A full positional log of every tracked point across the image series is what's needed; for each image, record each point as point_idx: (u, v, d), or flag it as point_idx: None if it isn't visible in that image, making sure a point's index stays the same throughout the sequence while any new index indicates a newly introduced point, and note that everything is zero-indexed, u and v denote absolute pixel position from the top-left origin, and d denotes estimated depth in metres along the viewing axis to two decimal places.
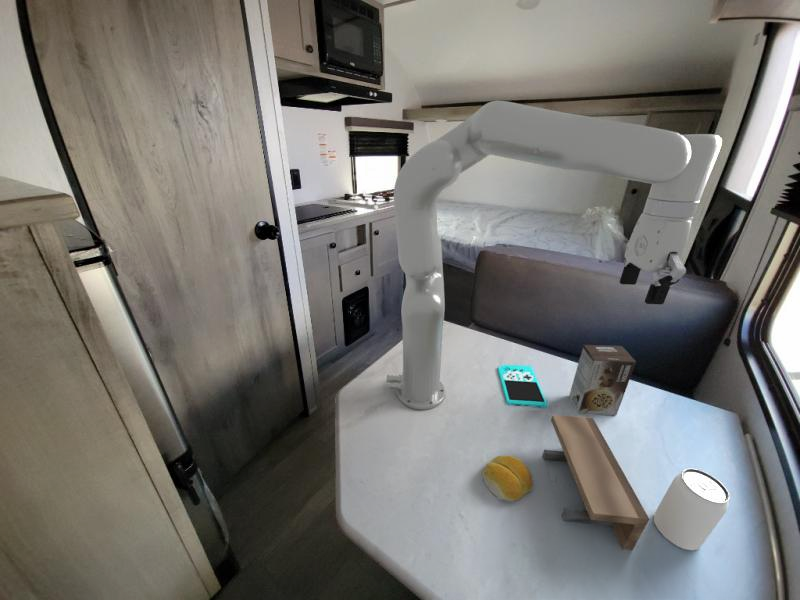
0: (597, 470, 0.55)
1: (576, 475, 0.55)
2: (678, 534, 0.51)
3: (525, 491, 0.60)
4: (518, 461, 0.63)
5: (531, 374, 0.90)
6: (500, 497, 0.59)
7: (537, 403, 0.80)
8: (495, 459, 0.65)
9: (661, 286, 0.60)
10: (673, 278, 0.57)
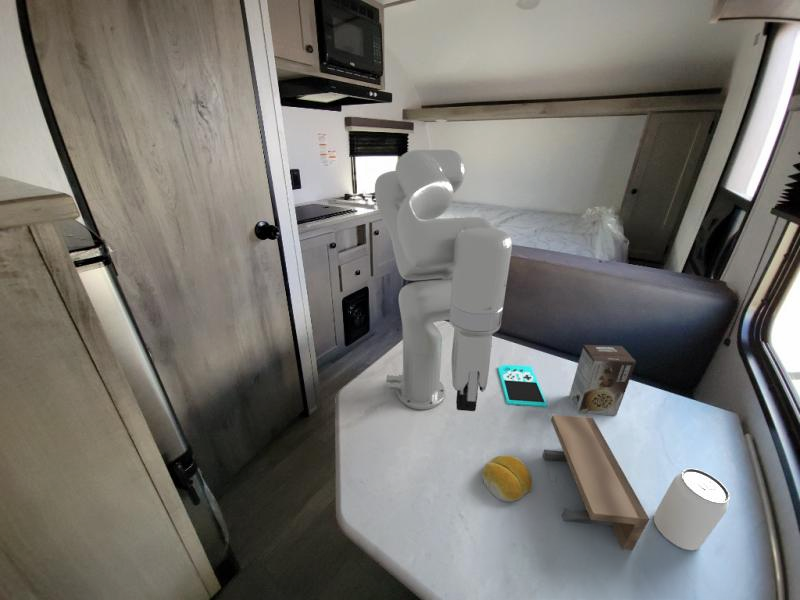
0: (597, 470, 0.55)
1: (576, 475, 0.55)
2: (678, 534, 0.51)
3: (524, 491, 0.60)
4: (517, 461, 0.63)
5: (531, 374, 0.90)
6: (500, 497, 0.59)
7: (537, 404, 0.80)
8: (494, 459, 0.65)
9: (465, 395, 0.52)
10: None
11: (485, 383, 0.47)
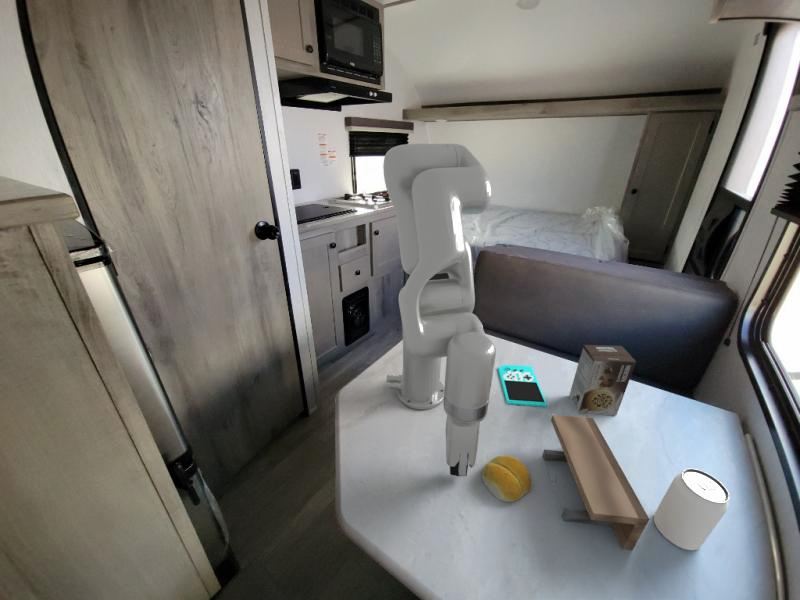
0: (597, 470, 0.55)
1: (576, 475, 0.55)
2: (678, 534, 0.51)
3: (524, 491, 0.60)
4: (517, 461, 0.63)
5: (531, 374, 0.90)
6: (499, 497, 0.59)
7: (537, 403, 0.80)
8: (494, 459, 0.65)
9: None
10: (459, 468, 0.57)
11: (474, 462, 0.54)
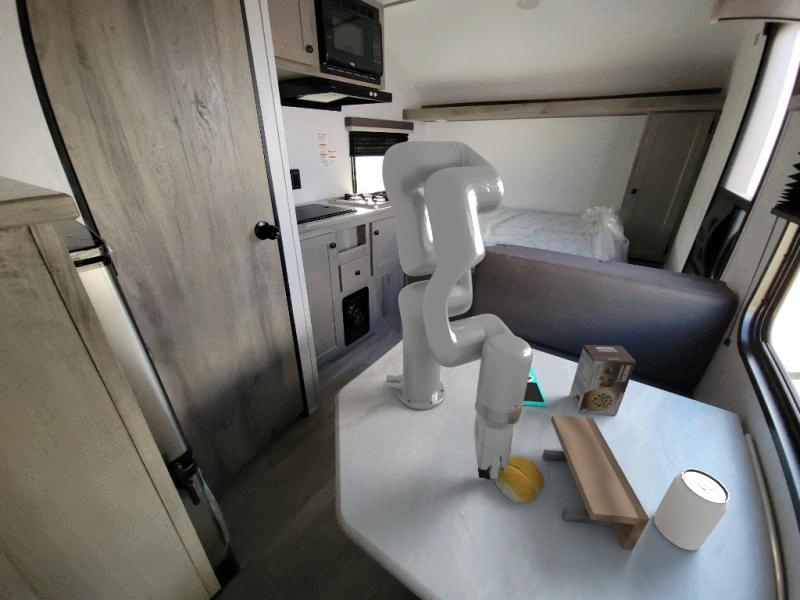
0: (597, 470, 0.55)
1: (576, 475, 0.55)
2: (678, 534, 0.51)
3: (537, 491, 0.60)
4: (528, 461, 0.63)
5: (531, 374, 0.90)
6: (513, 499, 0.58)
7: (537, 403, 0.80)
8: None
9: None
10: (489, 471, 0.57)
11: (506, 465, 0.54)
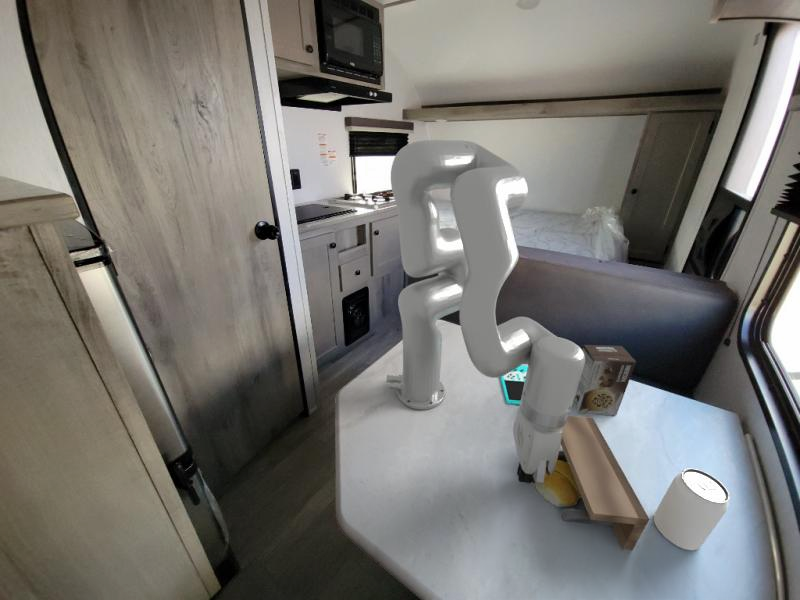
0: (597, 470, 0.55)
1: (576, 475, 0.55)
2: (678, 534, 0.51)
3: (580, 495, 0.59)
4: (568, 465, 0.62)
5: None
6: (557, 504, 0.57)
7: None
8: None
9: None
10: None
11: (553, 469, 0.53)
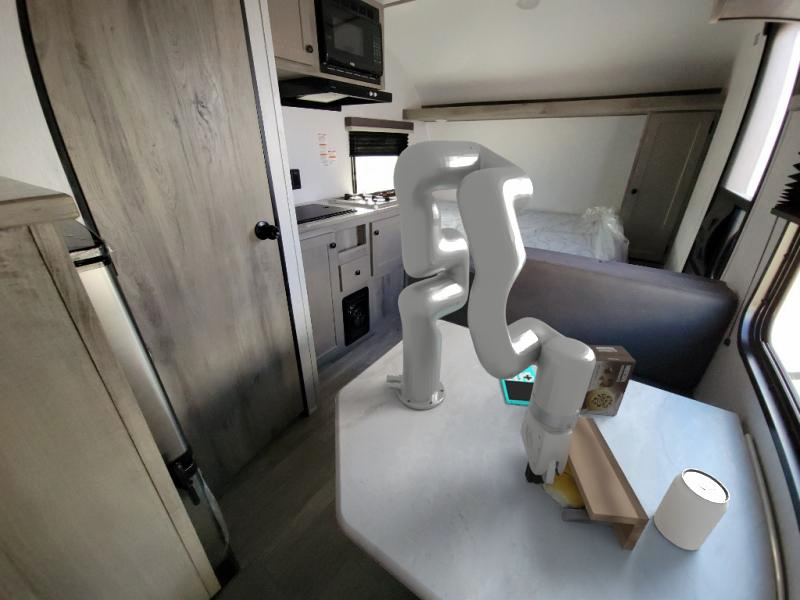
0: (597, 470, 0.55)
1: (576, 475, 0.55)
2: (678, 534, 0.51)
3: None
4: None
5: (531, 374, 0.90)
6: (566, 505, 0.57)
7: None
8: None
9: None
10: None
11: (563, 470, 0.53)
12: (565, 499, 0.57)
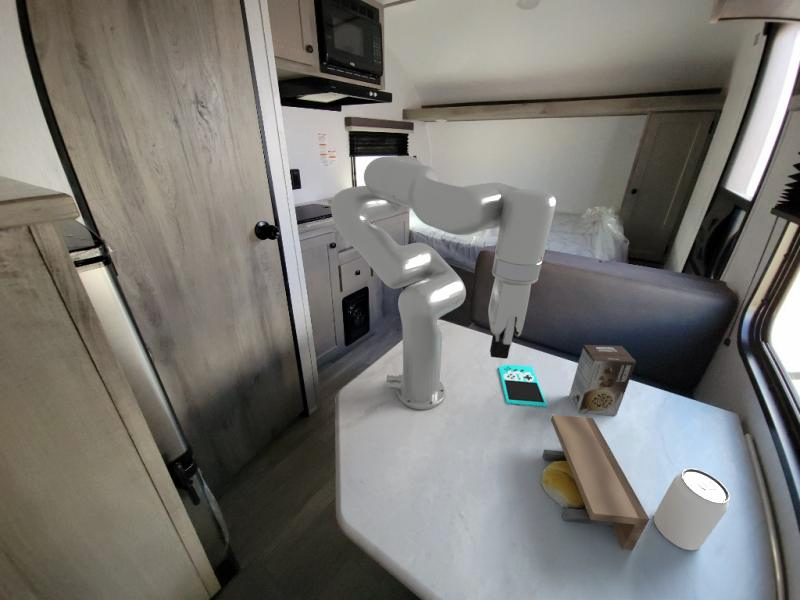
0: (597, 470, 0.55)
1: (576, 475, 0.55)
2: (678, 534, 0.51)
3: None
4: None
5: (532, 374, 0.90)
6: (566, 505, 0.57)
7: (537, 404, 0.80)
8: (551, 466, 0.63)
9: (500, 342, 0.59)
10: (503, 341, 0.57)
11: (521, 328, 0.53)
12: (565, 499, 0.57)
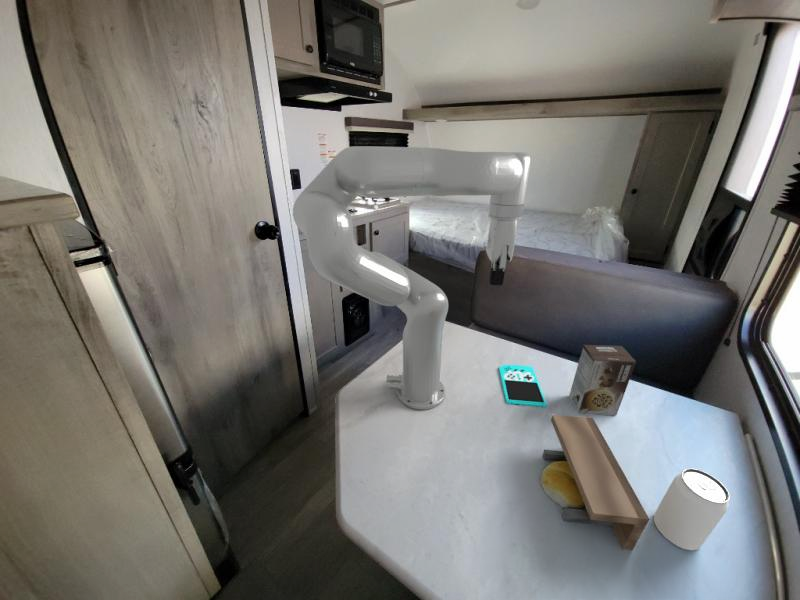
0: (597, 470, 0.55)
1: (576, 475, 0.55)
2: (678, 534, 0.51)
3: None
4: None
5: (532, 374, 0.90)
6: (565, 506, 0.57)
7: (537, 404, 0.80)
8: (551, 466, 0.63)
9: (496, 271, 0.79)
10: (499, 267, 0.76)
11: (512, 254, 0.73)
12: (565, 500, 0.57)
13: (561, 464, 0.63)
